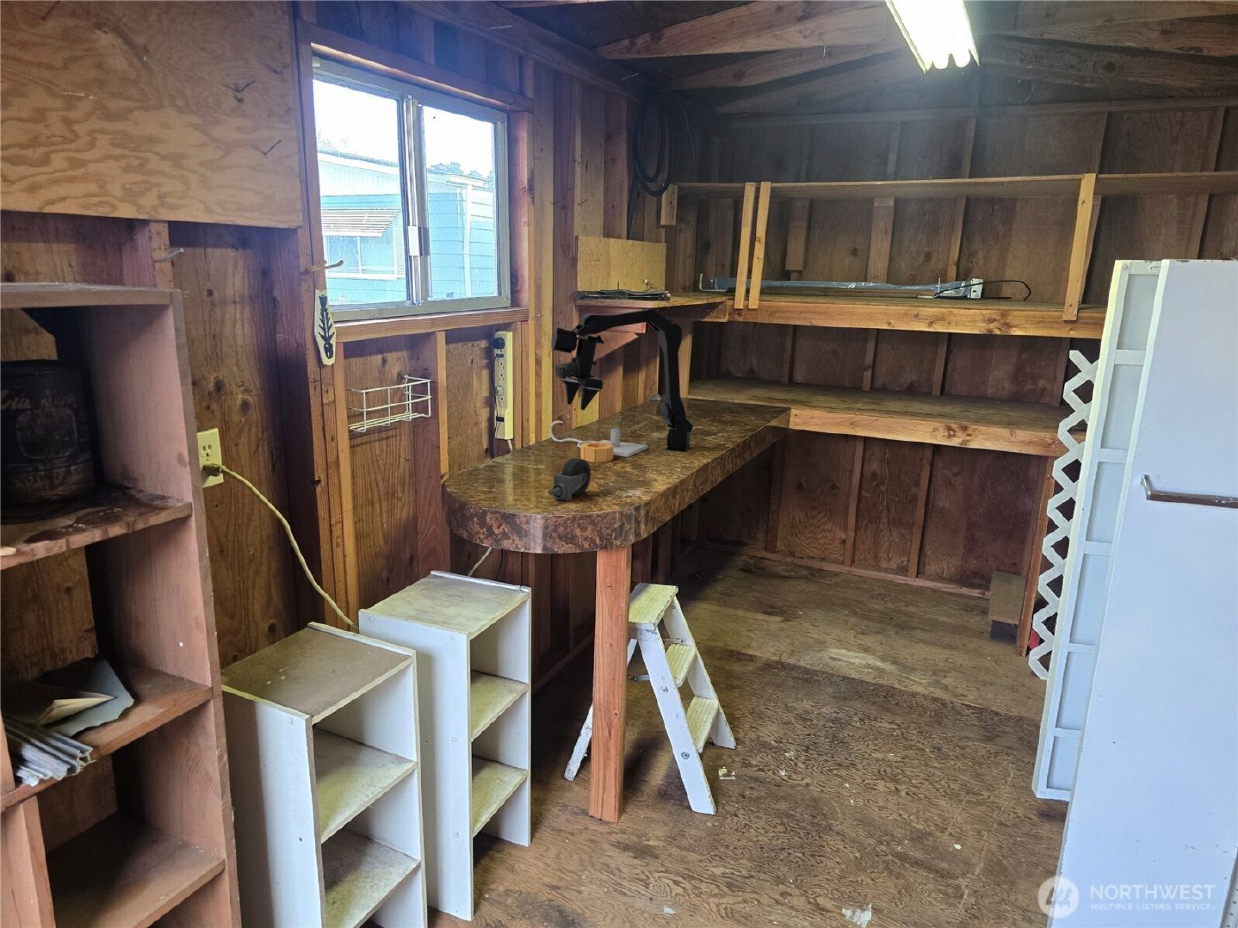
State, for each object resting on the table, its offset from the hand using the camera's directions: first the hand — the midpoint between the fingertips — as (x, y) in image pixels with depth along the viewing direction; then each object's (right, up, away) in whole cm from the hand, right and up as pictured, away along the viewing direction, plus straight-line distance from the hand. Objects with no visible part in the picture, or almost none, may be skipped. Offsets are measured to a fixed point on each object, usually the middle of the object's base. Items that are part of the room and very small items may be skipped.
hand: (575, 407), depth 234 cm
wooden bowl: (+6, -16, -2) cm, 17 cm away
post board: (+12, -13, +10) cm, 20 cm away
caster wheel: (+1, -26, -44) cm, 50 cm away
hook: (-2, -11, +19) cm, 22 cm away
